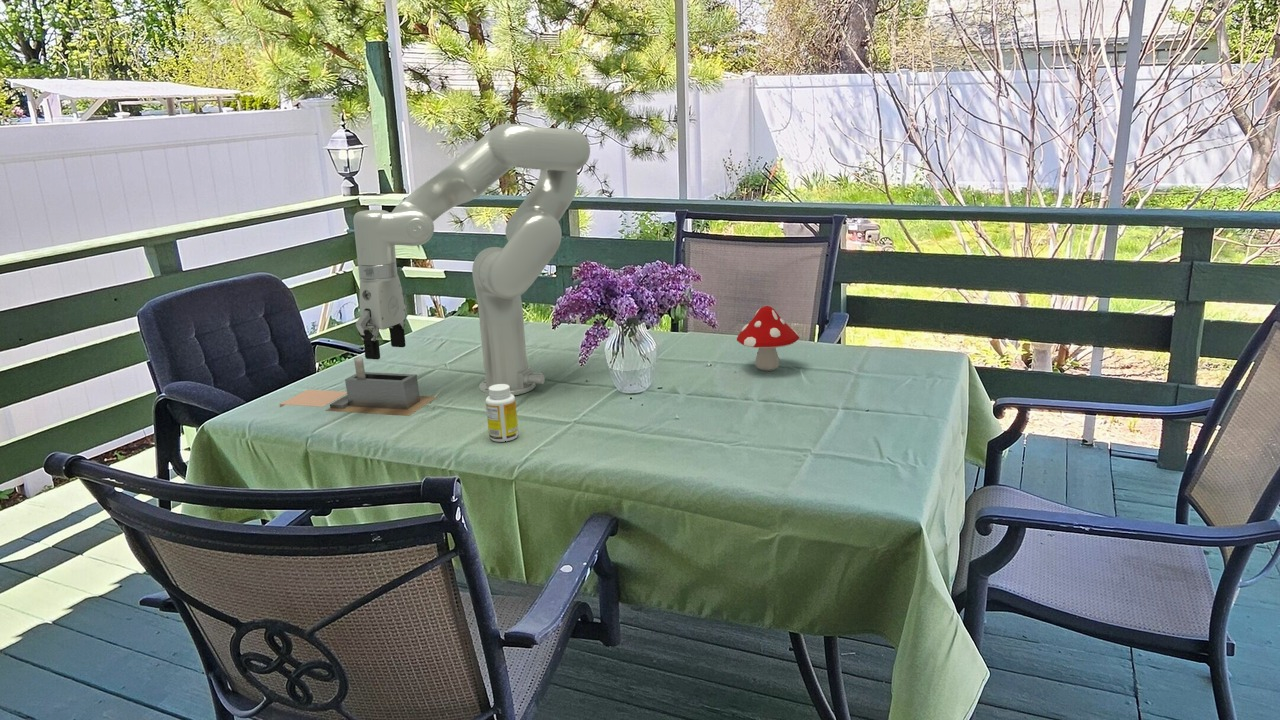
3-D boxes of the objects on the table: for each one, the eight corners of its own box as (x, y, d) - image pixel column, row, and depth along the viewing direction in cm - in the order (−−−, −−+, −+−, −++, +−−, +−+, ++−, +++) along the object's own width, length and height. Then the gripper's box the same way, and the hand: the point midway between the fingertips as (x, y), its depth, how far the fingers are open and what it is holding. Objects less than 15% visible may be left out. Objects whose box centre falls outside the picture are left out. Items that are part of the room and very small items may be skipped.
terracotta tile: (350, 395, 201) (349, 391, 201) (323, 410, 192) (322, 406, 192) (308, 392, 204) (308, 389, 204) (280, 407, 195) (279, 404, 195)
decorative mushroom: (794, 359, 211) (794, 297, 207) (803, 377, 198) (804, 311, 194) (734, 362, 212) (733, 300, 207) (740, 379, 199) (738, 314, 194)
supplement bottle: (519, 431, 174) (514, 381, 171) (518, 441, 169) (513, 390, 166) (490, 433, 174) (485, 383, 171) (488, 444, 169) (483, 392, 166)
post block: (438, 400, 195) (432, 352, 192) (409, 419, 184) (402, 369, 181) (358, 395, 200) (351, 349, 197) (325, 414, 189) (318, 365, 186)
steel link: (420, 401, 192) (416, 374, 190) (406, 409, 187) (403, 382, 186) (363, 397, 196) (359, 371, 194) (349, 406, 191) (345, 379, 190)
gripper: (370, 280, 174) (378, 365, 178) (416, 265, 190) (423, 343, 194) (336, 278, 176) (346, 362, 180) (385, 264, 192) (392, 341, 196)
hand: (386, 352), depth 187 cm, fingers open, 9 cm apart
